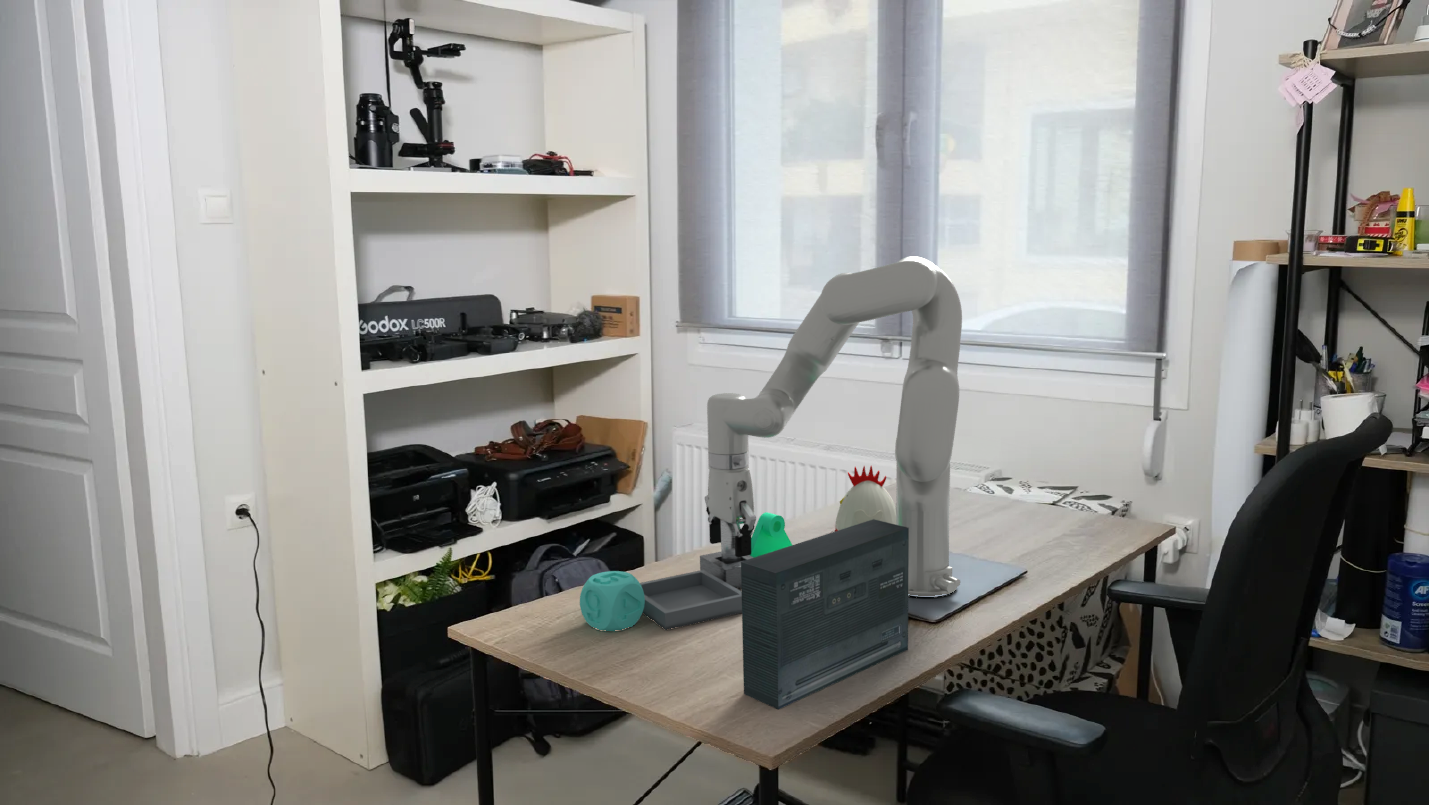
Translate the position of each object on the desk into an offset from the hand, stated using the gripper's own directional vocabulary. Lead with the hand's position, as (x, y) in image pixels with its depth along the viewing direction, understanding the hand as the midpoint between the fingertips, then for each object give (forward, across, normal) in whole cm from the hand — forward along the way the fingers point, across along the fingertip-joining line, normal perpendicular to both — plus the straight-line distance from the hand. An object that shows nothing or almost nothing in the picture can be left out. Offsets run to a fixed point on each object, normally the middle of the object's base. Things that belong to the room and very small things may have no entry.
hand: (730, 549), depth 202 cm
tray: (+6, -8, +14) cm, 17 cm away
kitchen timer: (+6, +9, -39) cm, 41 cm away
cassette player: (+6, -44, +8) cm, 45 cm away
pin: (+6, 0, 0) cm, 6 cm away
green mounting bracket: (+6, +2, -12) cm, 14 cm away
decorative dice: (+6, -8, +28) cm, 30 cm away
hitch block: (+6, 0, 0) cm, 6 cm away
